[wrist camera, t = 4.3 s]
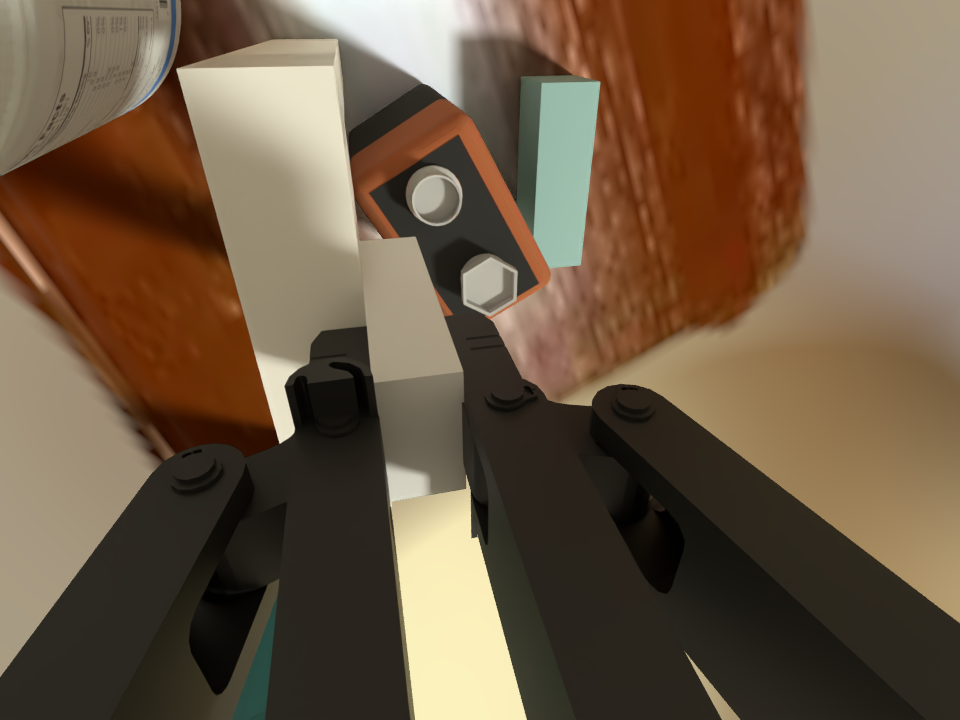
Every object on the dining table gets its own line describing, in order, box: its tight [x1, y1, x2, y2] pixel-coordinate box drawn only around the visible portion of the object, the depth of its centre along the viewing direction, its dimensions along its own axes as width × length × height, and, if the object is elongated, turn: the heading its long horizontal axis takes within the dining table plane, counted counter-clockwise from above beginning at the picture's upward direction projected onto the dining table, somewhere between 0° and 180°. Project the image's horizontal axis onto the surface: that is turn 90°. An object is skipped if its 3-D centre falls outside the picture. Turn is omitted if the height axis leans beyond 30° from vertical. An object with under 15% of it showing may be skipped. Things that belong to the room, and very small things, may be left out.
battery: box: [349, 84, 551, 319], centre depth 21 cm, size 4×7×10 cm, turn 29°
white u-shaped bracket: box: [177, 39, 392, 507], centre depth 18 cm, size 2×11×15 cm, turn 0°
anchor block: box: [516, 75, 600, 268], centre depth 25 cm, size 2×8×3 cm, turn 0°
